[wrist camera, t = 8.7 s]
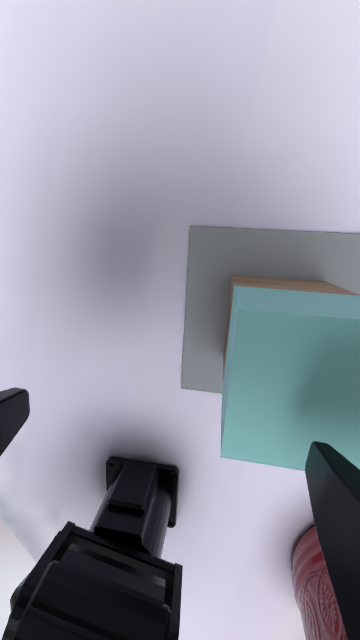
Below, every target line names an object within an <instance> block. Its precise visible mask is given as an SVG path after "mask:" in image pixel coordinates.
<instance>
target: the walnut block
mask: <svg viewBox="0 0 360 640" xmlns="http://www.w3.org/2000/svg"><path fill="white" fill-rule="evenodd" d="M234 286H244V287H256V288H269V289H281V290H293V291H306V292H318V293H331V294H343V295H356V296H360V295H359V294H356V293H354V292H351V291H349V290H346V289H344V288H341V287H339V286H336V285H334V284H331V283H329V282H326V281H312V280H298V279H283V278H269V277H255V276H240V275H232V278H231V288H230V297H229V307H228V317H227V327H226V336H225V346H224V356H223V380H224V371H225V362H226V353H227V344H228V335H229V326H230V317H231V308H232V300H233V291H234Z"/></svg>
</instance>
